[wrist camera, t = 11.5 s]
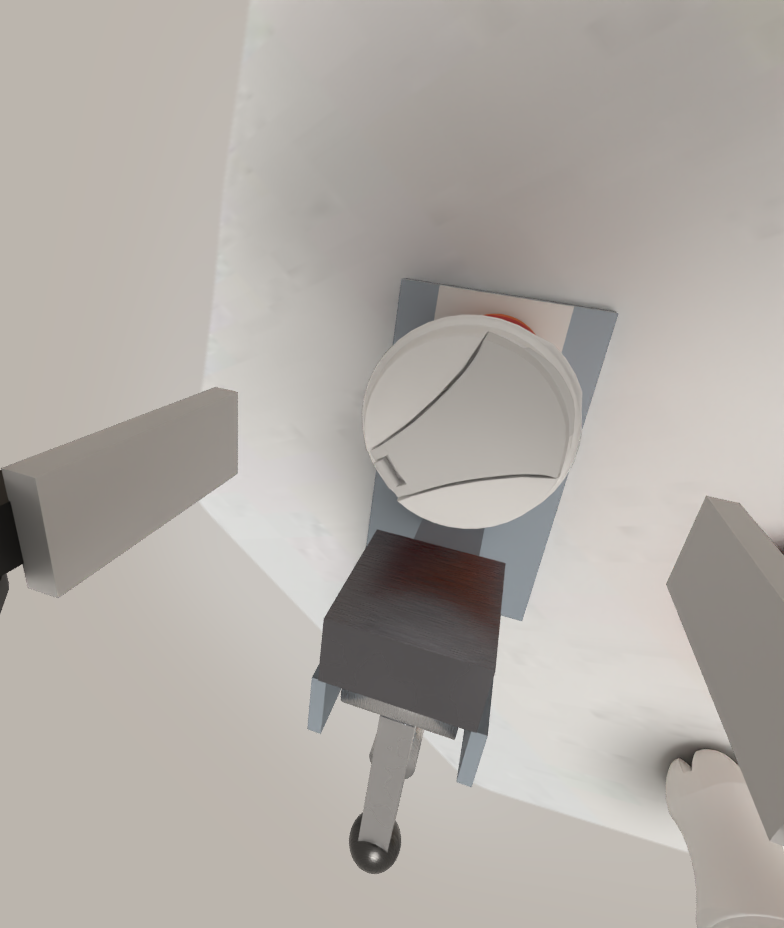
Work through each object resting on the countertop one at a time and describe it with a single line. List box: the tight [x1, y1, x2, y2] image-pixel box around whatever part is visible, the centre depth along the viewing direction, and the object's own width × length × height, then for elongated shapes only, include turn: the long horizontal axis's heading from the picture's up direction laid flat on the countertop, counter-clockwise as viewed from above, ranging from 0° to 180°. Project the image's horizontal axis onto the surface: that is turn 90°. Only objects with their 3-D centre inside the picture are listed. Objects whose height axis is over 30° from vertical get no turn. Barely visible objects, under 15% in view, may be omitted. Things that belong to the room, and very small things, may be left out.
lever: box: [318, 529, 506, 874], centre depth 24 cm, size 18×6×9 cm, turn 172°
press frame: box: [308, 279, 618, 787], centre depth 26 cm, size 23×13×20 cm, turn 172°
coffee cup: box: [362, 314, 582, 529], centre depth 24 cm, size 8×8×15 cm
